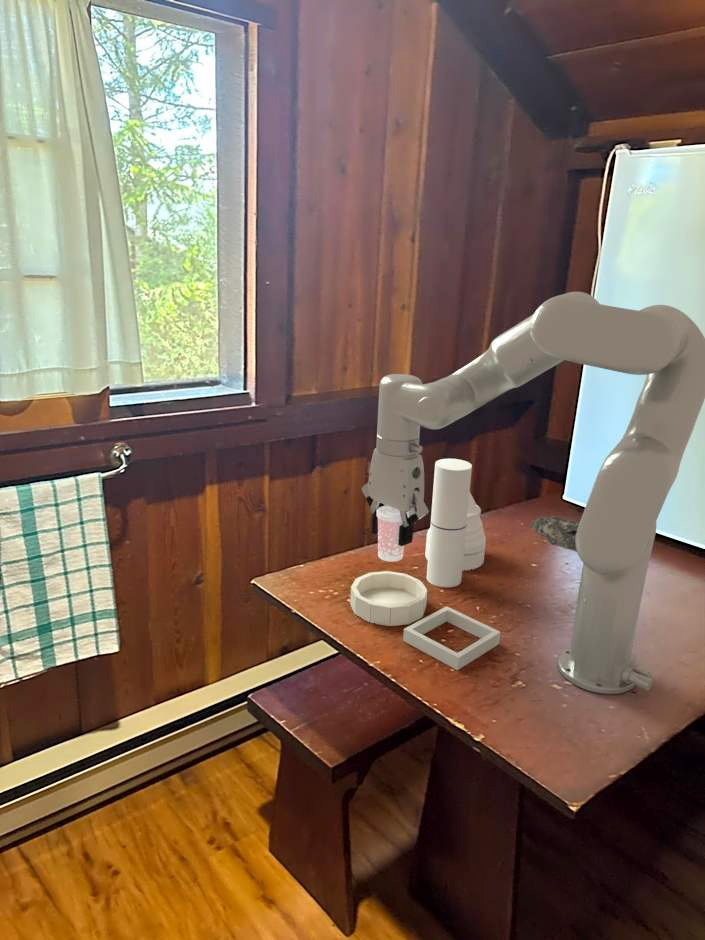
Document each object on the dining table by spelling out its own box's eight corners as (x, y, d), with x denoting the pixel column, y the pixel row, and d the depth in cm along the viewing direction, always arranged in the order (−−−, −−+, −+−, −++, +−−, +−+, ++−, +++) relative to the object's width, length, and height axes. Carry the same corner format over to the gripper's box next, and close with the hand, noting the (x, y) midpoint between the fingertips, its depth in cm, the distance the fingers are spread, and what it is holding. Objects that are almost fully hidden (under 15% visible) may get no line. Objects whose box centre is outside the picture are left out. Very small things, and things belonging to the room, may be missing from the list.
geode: (599, 559, 168) (613, 536, 180) (601, 543, 167) (616, 521, 179) (517, 539, 177) (536, 519, 189) (518, 524, 176) (538, 505, 188)
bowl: (439, 607, 144) (441, 590, 143) (390, 633, 134) (391, 615, 133) (386, 581, 153) (387, 565, 152) (336, 604, 144) (336, 586, 142)
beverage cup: (404, 565, 137) (409, 493, 132) (371, 561, 138) (375, 490, 133) (408, 551, 143) (413, 481, 138) (376, 547, 144) (380, 478, 139)
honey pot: (413, 554, 166) (418, 477, 160) (452, 540, 174) (459, 466, 168) (456, 576, 157) (463, 495, 151) (496, 560, 165) (504, 483, 159)
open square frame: (499, 643, 133) (500, 632, 132) (457, 670, 124) (458, 657, 124) (445, 617, 140) (446, 606, 140) (403, 640, 132) (403, 628, 132)
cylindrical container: (421, 581, 154) (429, 466, 146) (434, 568, 160) (443, 456, 152) (454, 590, 151) (464, 472, 142) (466, 576, 157) (477, 462, 148)
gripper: (449, 453, 130) (440, 547, 136) (376, 430, 141) (371, 518, 147) (421, 461, 125) (413, 559, 131) (348, 437, 136) (344, 528, 142)
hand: (391, 537), depth 139 cm, fingers closed on beverage cup, 6 cm apart
